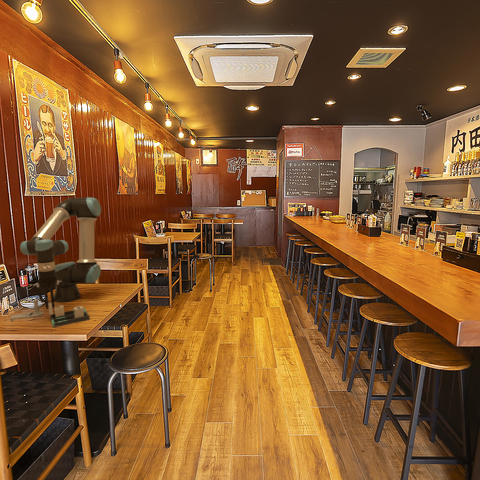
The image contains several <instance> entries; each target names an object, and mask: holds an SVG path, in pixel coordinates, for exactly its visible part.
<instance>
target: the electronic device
mask: <svg viewBox="0 0 480 480" xmlns="http://www.w3.org/2000/svg"><path fill="white" fill-rule="evenodd" d="M33 306H34V307H33V308H34V309H33V310H34V311H33V312H26V313H18V314H14V315H13V314H12V316H10V321H11V322H12V323H13V322H14V320H23V319H31V318H33V319H34V318H40V317H42V316H44V312H43V311H42V310H40V307H39V302H38V299H36V300H33Z"/></svg>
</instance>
